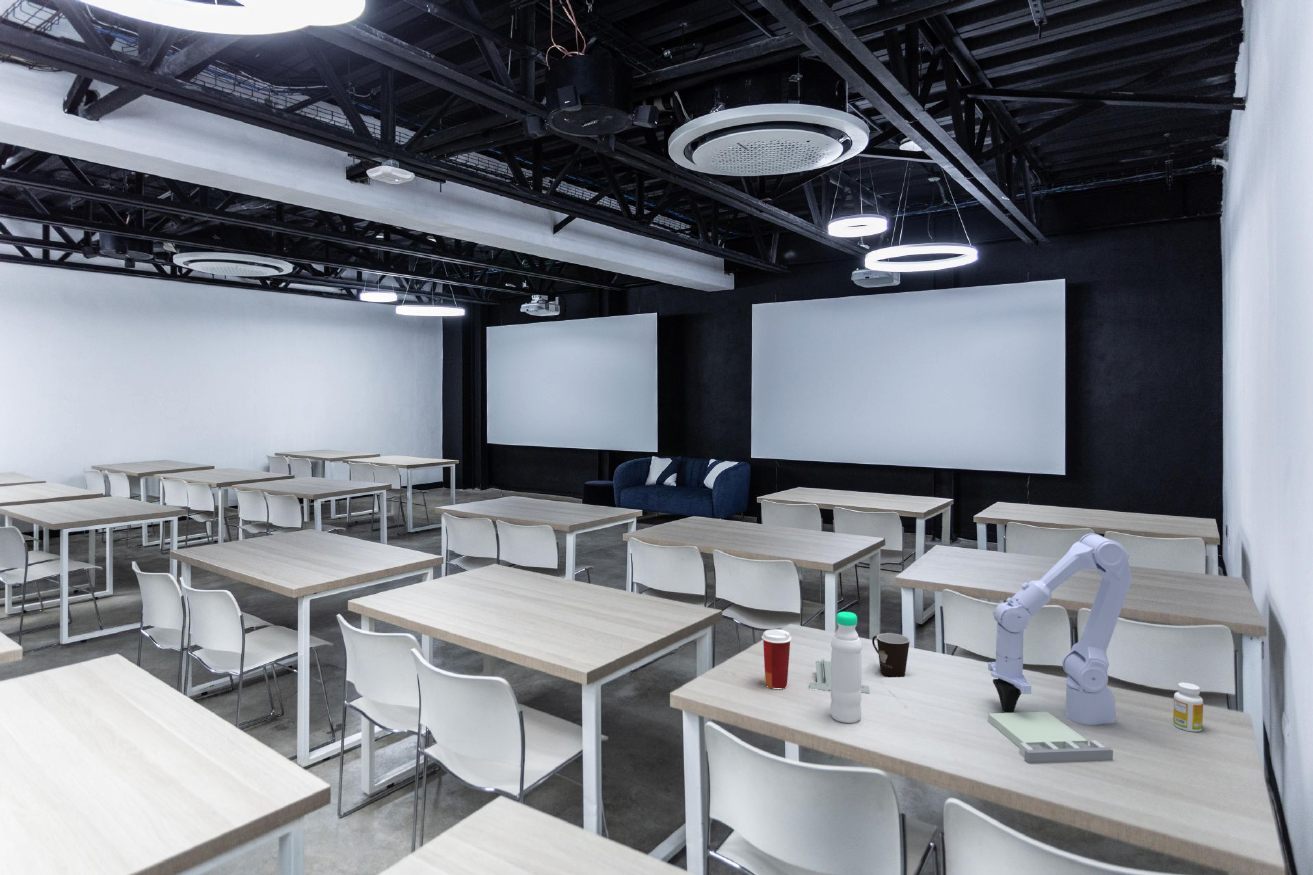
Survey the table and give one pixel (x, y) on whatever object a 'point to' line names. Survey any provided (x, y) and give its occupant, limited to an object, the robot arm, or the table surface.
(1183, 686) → the supplement bottle
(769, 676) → the paper cup
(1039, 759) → the jig board
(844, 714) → the water bottle
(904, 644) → the coffee mug
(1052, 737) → the door
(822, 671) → the metal bracket
